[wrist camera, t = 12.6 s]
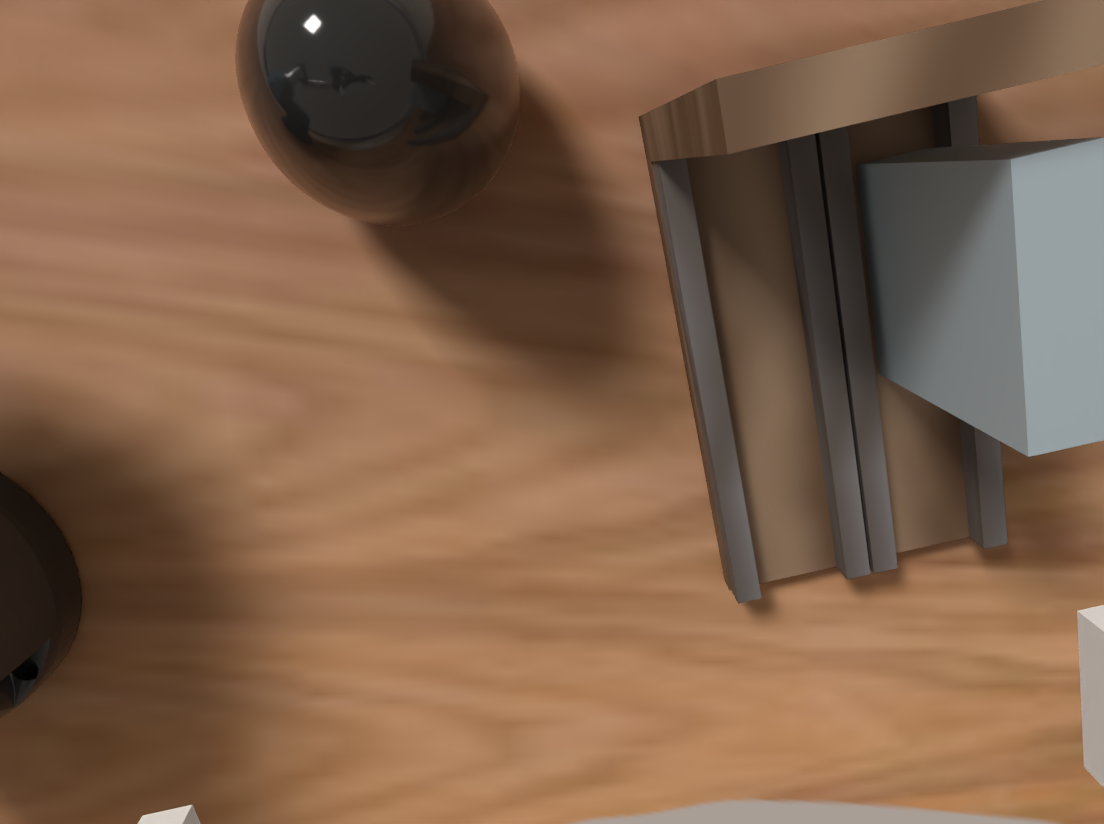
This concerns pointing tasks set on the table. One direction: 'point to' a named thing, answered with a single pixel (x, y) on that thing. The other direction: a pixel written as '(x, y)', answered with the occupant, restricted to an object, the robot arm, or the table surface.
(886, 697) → the table surface
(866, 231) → the pale grey rectangular block
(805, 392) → the track sill
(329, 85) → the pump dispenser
